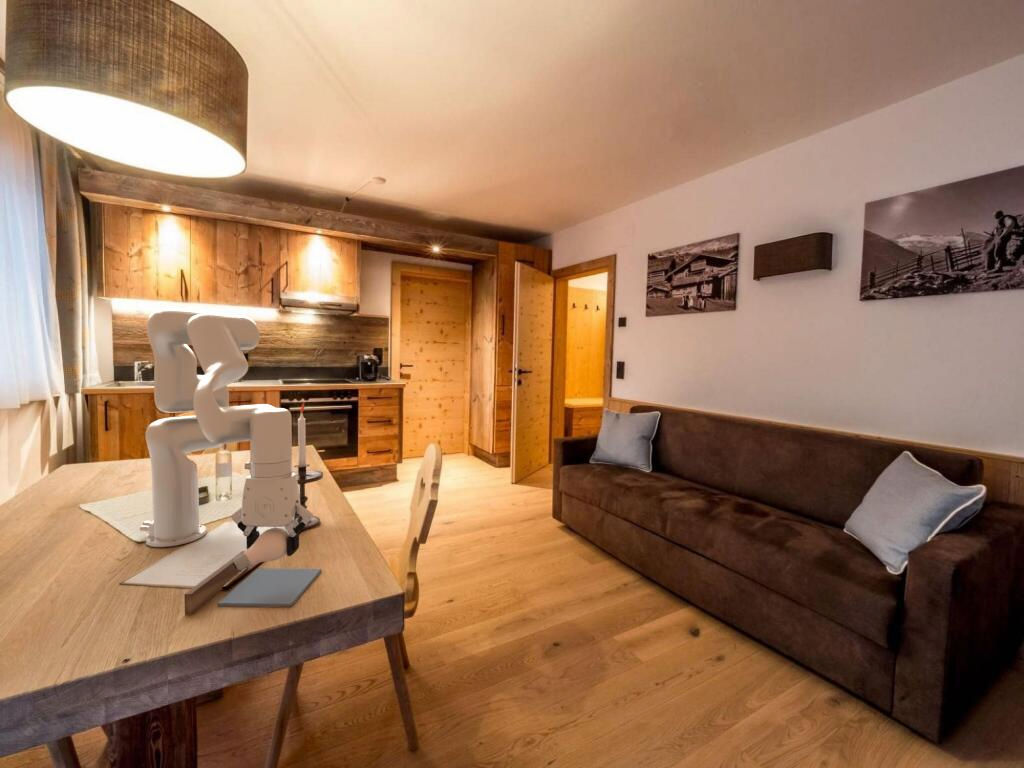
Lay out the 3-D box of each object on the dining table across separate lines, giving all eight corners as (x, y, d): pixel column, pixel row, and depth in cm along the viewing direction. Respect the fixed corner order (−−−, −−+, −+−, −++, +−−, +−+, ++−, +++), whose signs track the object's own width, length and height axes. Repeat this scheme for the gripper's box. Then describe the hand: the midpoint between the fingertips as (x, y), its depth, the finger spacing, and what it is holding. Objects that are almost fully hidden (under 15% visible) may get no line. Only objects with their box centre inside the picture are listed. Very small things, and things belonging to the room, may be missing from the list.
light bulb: (232, 553, 83) (289, 522, 91) (222, 549, 87) (278, 520, 95) (245, 584, 84) (301, 550, 92) (235, 578, 88) (289, 547, 96)
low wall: (184, 614, 82) (184, 594, 82) (242, 568, 100) (242, 551, 100) (191, 615, 82) (190, 594, 82) (248, 568, 100) (247, 551, 100)
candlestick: (312, 515, 133) (311, 399, 131) (330, 524, 127) (329, 402, 124) (274, 525, 125) (272, 402, 123) (291, 535, 118) (290, 405, 116)
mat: (217, 606, 85) (217, 603, 85) (258, 570, 99) (258, 568, 99) (290, 606, 85) (290, 603, 85) (321, 571, 99) (321, 568, 99)
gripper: (216, 472, 87) (219, 560, 88) (306, 474, 87) (307, 561, 88) (239, 463, 94) (241, 544, 95) (322, 464, 94) (322, 545, 95)
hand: (273, 552), depth 91 cm, fingers closed on light bulb, 7 cm apart
